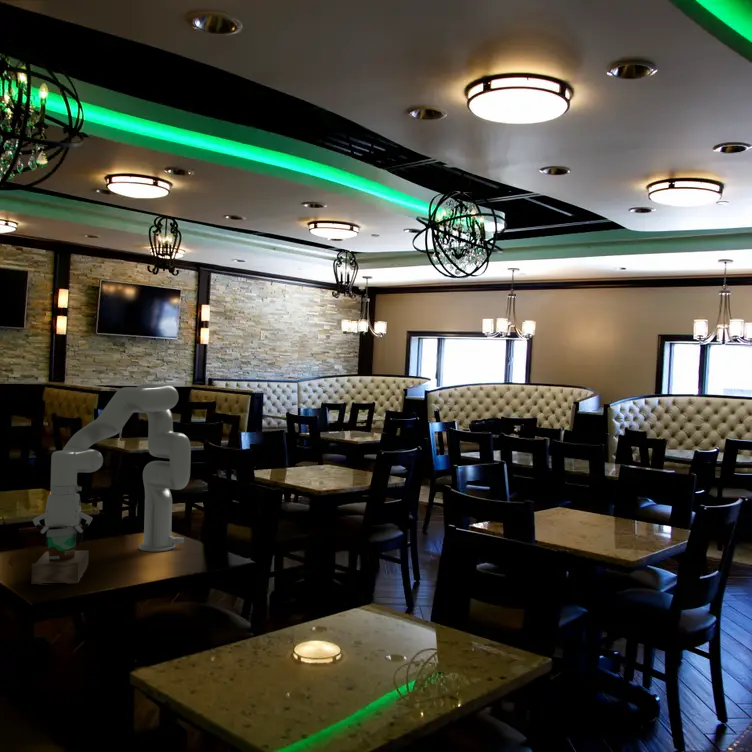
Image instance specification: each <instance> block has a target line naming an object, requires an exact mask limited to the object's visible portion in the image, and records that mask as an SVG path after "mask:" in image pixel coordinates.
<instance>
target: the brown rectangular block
mask: <svg viewBox="0 0 752 752" xmlns="http://www.w3.org/2000/svg"><path fill="white" fill-rule="evenodd" d="M89 552H90V551H89V550H75V557H74V558H72V559H69V560H64V561H54V562H49V550H47V551H45V552H44V553H43V554H42V556H40V558H39V559H38V560H37V561H36V562H35V563H31V576H30V577H31V583H30V584H38V585H43V584H42V583H67V584H79V582H80V581H81V579H82V577H83V576H84V574H85V572H86V571H87V569H88V567H89ZM87 566H88V567H87ZM83 573H84V574H83ZM80 578H81V579H80Z"/></svg>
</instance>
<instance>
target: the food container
mask: <svg viewBox="0 0 752 752" xmlns="http://www.w3.org/2000/svg"><path fill="white" fill-rule="evenodd" d="M77 533H78V530H77V529H76V528H75V527H55V528H54V529H47V537H48V544H47V547H48V551H49V562H54V561H64V560H69V559H72V558H74V557H75V551H76V545H77Z"/></svg>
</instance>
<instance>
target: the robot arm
mask: <svg viewBox="0 0 752 752" xmlns="http://www.w3.org/2000/svg"><path fill="white" fill-rule="evenodd" d="M178 402H179V392H178V390H177V389H176V388H175V387H174V386H172V385H167V384H150V383H149V384H148V383H147V384H146V383H145V384H139V385H137V386H136V387H133V386H132V387H129V386H127V387H126V386H125V387H121V388H119V389H117V391H116V392H115V393H114V394H113V396H112V397H111V399H110V400H109V401H108V403H107V405H106V406H105V407H104V408H103V410H102V411H101V412H100V414H99V416H97V418H96V419H94V420H92V421H91V422H89V423H88V424H86V425H85V426H84V427H82V428H81V429H79V430H77V432H75V433H74V434H73V435H72V437H70V438H69V440H68V441H67V442H66V444H65V446H64V447H63V449H62V450H56V451H54V452H52V454H51V458H50V459H51V462H50V463H51V464H50V494H48V496H47V501H46V503H45V504H46V506H45V513H42V514H40V515H37V516H36V517H34V518H33V519H32V522H33V524H34V526H35V528H36V529H37V530H38V531H39V532H40V534H41V544H43V547H48V537H47V530H49V529H50V528H58V527H75V528H76V529H77V530H78V532H77V533H76V546H80V545H81V544H82V542H83V540H84V537H83V536H84V531H85V530H86V529H88V527H89V526H90V524H91V522H92V521H93V517H92V516H90V515H88V514H86V513H84V512H82V507H81V506H82V505H81V503H82V502H81V496H80V493H78V492H81V491H82V489H83V488H82V487H83V486H80V485H79V484H78V473H93V472H96V471H98V470H99V469H101V467H102V466H103V463H104V457H103V455H102V453H101V452H100V451H99V450H97V449H94V448H93V449H92V448H90V447H91V446H93V445H94V444H97V443H98V442H100V441H102V440H106V439H109V438H111V437H114V436H116V435H117V434H119V433H120V432H121V431H122V429H123V428H124V426H125V425H126V423H127V422H128V420H129V419H130V418H131V416H132V415H133V414H134V413H143V414H146V417H147V420H148V421H147V422H148V424H147V425H148V428H147V429H148V431H147V432H148V435H147V436H148V437H147V449H148V452H149V454H150V455H151V456H152V457H156V458H162V459H169V461H165V460H164V461H163V460H152V461H150V462H148V463H147V464H146V465H145V466H144V468H143V471H142V480H143V486H144V522H143V523H144V524H143V525H144V526H143V527H144V529H143V542H142V543H140V544H139V545H138V549H139V550H141V551H144V552H150V553H151V552H152V553H153V552H154V553H155V552H167V551H171V550H173V549H175V548H176V544H177V543H178V544H184V543H185V538H184V537H181V536H174V535H173V533H172V522H173V521H172V520H173V518H172V516H173V515H172V514H173V496H172V493H171V490H176V491H177V490H179V491H180V490H183V489H185V488H186V487H187V485H188V484H189V481H190V478H191V461H192V460H191V457H192V456H191V454H192V446H191V445H192V444H191V442H190V439H189V437H188V436H187V435H185V434H184V433H182V432H174V423H173V413H172V411H171V409H173V408H174V407H176V405H177V403H178ZM43 519H44V525H45V526H43V525H42V524H41V523H40V521H41V520H43ZM82 519H84V520H86V521H85V523H84V524H83V525H82V524H81V522H82Z"/></svg>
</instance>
